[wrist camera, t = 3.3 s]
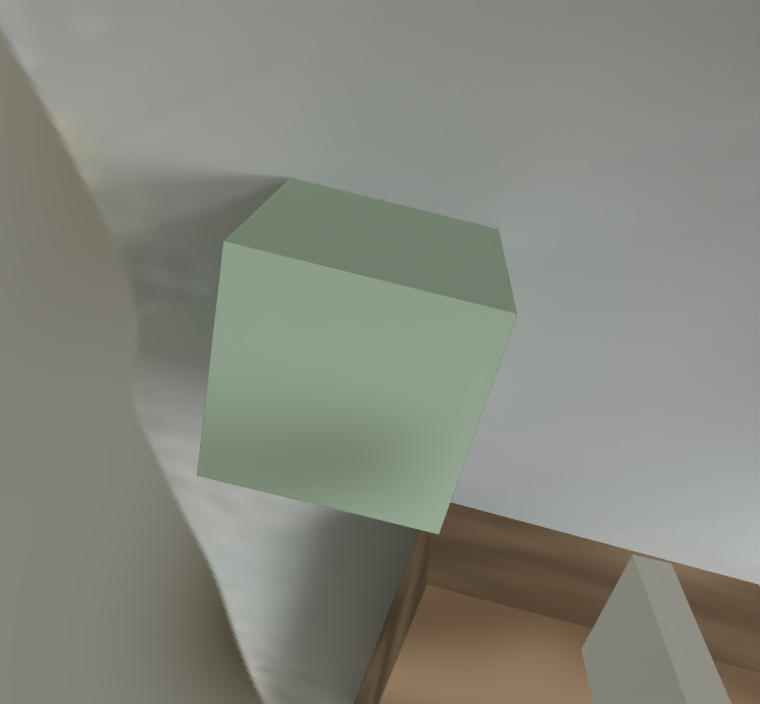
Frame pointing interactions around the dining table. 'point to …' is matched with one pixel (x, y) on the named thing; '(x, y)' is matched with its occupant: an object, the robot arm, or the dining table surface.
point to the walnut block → (530, 617)
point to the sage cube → (353, 353)
